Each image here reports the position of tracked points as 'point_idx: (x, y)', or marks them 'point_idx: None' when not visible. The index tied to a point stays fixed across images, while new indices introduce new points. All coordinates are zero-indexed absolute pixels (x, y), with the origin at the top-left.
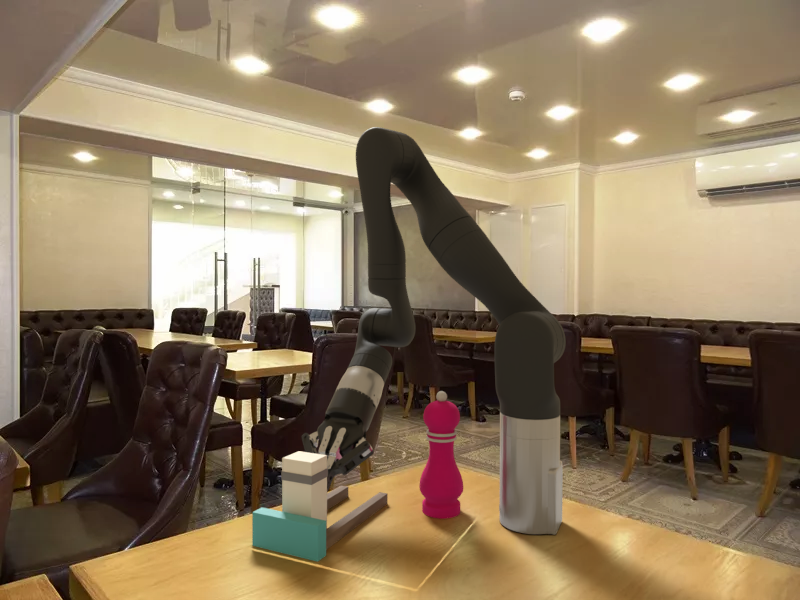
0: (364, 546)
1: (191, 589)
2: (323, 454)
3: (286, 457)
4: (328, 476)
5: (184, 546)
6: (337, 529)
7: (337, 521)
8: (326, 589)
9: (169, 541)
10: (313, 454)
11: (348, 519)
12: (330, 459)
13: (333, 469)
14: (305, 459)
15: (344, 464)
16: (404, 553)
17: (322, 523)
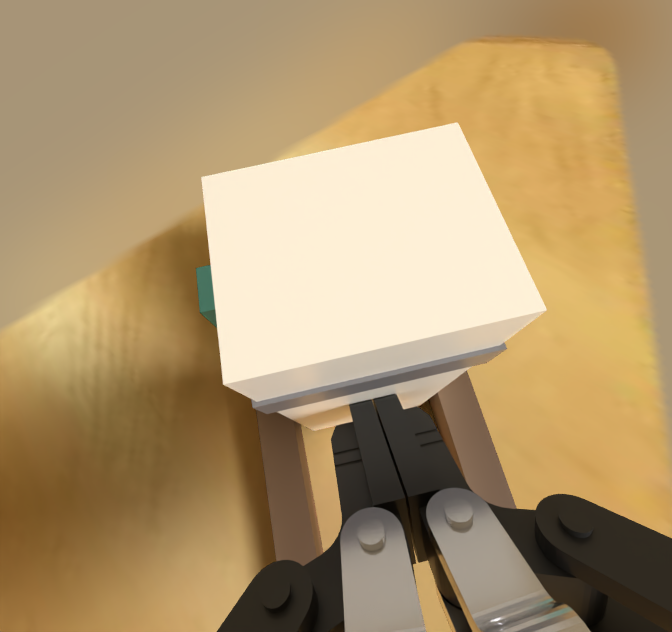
0: (187, 469)
1: (365, 115)
2: (501, 619)
3: (447, 144)
4: (341, 496)
5: (559, 179)
6: (259, 429)
7: (302, 480)
8: (149, 253)
9: (613, 171)
10: (347, 322)
11: (281, 525)
12: (384, 595)
13: (331, 552)
14: (294, 196)
15: (234, 615)
16: (56, 512)
17: (199, 292)
